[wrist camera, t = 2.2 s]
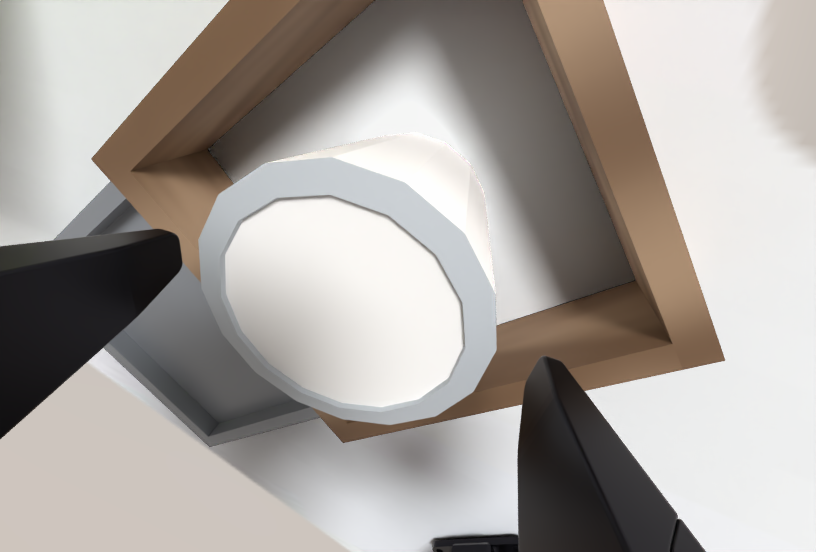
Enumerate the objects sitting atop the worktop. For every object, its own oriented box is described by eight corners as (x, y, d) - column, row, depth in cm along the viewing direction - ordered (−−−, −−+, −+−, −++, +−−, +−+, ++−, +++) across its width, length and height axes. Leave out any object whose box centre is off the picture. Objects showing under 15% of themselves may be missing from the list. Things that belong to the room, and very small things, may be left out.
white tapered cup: (329, 273, 16) (225, 393, 10) (320, 102, 13) (154, 136, 7) (485, 302, 15) (469, 456, 9) (524, 123, 11) (539, 187, 6)
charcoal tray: (347, 390, 20) (336, 413, 18) (225, 427, 25) (209, 447, 23) (156, 158, 15) (124, 167, 14) (52, 259, 20) (22, 272, 19)
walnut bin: (676, 292, 13) (725, 360, 10) (368, 384, 19) (343, 443, 16) (502, -179, 8) (498, -308, 6) (175, 139, 15) (91, 159, 12)
